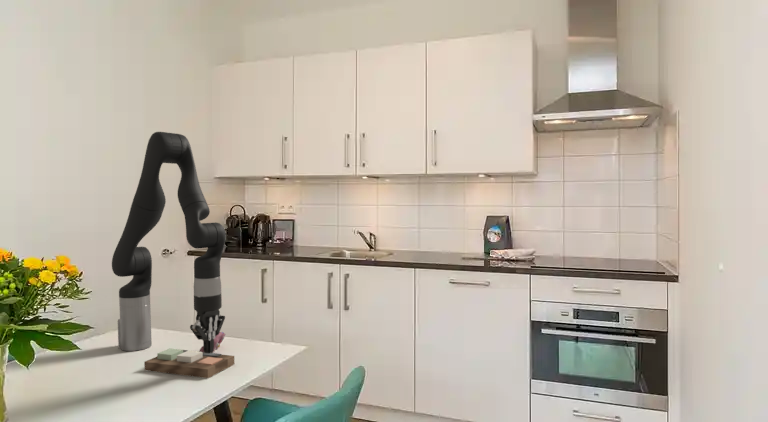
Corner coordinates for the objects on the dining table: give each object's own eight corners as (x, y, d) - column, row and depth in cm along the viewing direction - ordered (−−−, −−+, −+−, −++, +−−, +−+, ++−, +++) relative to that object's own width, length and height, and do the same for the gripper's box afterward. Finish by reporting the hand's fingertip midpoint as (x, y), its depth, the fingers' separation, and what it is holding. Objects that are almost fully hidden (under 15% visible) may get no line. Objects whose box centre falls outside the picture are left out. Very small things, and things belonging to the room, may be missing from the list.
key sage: (157, 361, 151) (157, 353, 150) (170, 356, 155) (169, 348, 155) (171, 363, 149) (171, 354, 149) (183, 357, 154) (183, 349, 154)
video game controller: (210, 360, 161) (219, 340, 161) (197, 353, 161) (206, 333, 161) (220, 350, 171) (229, 331, 171) (208, 344, 171) (217, 325, 171)
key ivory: (176, 363, 148) (176, 355, 148) (188, 358, 153) (188, 350, 153) (191, 365, 147) (190, 357, 146) (202, 359, 151) (202, 351, 151)
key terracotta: (197, 370, 146) (196, 362, 146) (208, 365, 151) (208, 356, 151) (211, 372, 144) (211, 364, 144) (222, 366, 149) (222, 358, 149)
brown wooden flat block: (144, 370, 148) (144, 360, 148) (174, 357, 159) (174, 348, 159) (208, 378, 141) (207, 367, 140) (234, 364, 152) (234, 354, 152)
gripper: (211, 287, 154) (212, 344, 155) (180, 296, 142) (182, 358, 142) (232, 289, 152) (233, 346, 152) (203, 298, 139) (204, 361, 140)
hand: (208, 352), depth 147 cm, fingers closed
